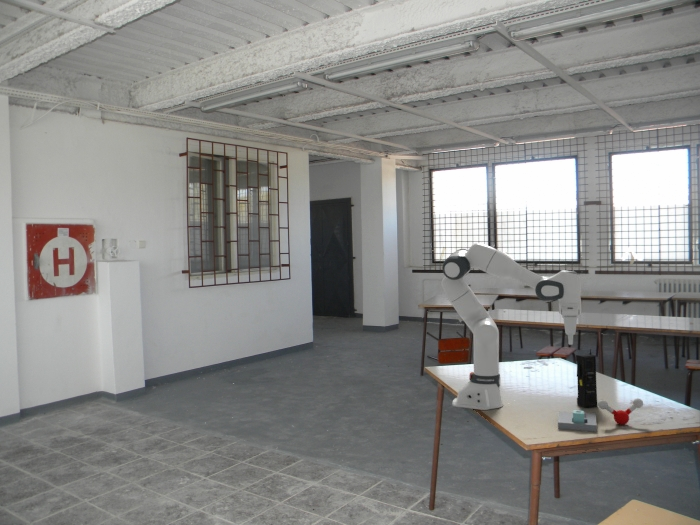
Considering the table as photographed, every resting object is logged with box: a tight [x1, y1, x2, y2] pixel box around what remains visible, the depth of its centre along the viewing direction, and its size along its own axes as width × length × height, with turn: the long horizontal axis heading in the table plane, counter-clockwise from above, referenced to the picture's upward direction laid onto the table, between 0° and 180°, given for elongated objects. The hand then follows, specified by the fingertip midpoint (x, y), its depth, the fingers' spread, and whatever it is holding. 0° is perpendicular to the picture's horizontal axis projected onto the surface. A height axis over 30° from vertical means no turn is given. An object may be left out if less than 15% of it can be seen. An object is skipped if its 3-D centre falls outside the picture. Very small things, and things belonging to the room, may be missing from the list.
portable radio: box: [575, 348, 598, 409], centre depth 259 cm, size 8×6×25 cm
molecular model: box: [597, 398, 644, 426], centre depth 233 cm, size 18×6×10 cm, turn 89°
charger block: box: [572, 409, 585, 423], centre depth 231 cm, size 4×4×6 cm
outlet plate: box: [557, 410, 598, 433], centre depth 235 cm, size 14×16×3 cm
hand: (570, 342), depth 245 cm, fingers open, 8 cm apart
